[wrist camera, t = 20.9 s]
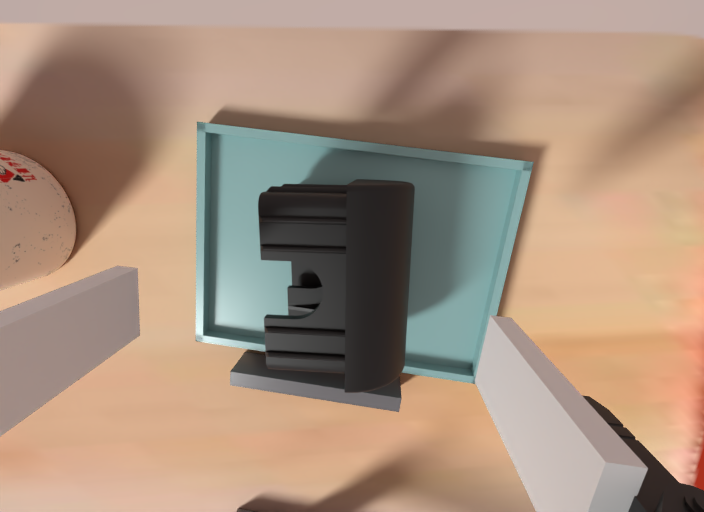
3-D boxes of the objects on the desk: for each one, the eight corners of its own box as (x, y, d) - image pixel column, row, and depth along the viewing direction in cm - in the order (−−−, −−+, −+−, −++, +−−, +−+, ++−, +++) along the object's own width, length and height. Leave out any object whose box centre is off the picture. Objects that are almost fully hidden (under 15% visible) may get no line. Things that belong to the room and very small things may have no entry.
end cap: (401, 334, 23) (408, 399, 17) (295, 328, 24) (263, 390, 18) (409, 179, 21) (421, 186, 14) (291, 177, 22) (251, 182, 15)
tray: (204, 332, 25) (195, 340, 24) (206, 124, 22) (197, 121, 20) (475, 373, 24) (479, 384, 23) (525, 162, 21) (533, 162, 19)
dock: (237, 524, 29) (187, 648, 22) (245, 351, 25) (186, 431, 18) (369, 548, 29) (364, 684, 21) (399, 375, 25) (406, 468, 17)
